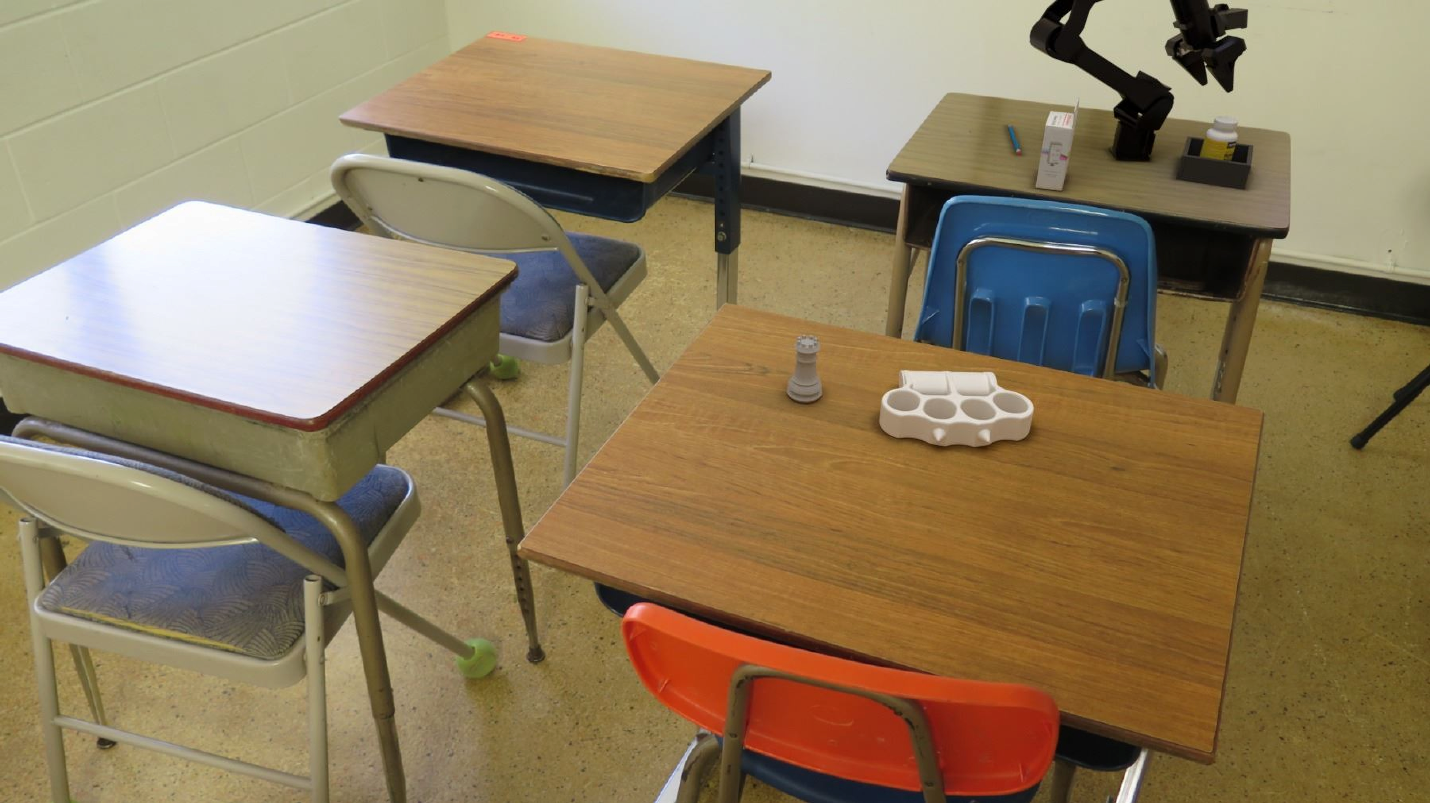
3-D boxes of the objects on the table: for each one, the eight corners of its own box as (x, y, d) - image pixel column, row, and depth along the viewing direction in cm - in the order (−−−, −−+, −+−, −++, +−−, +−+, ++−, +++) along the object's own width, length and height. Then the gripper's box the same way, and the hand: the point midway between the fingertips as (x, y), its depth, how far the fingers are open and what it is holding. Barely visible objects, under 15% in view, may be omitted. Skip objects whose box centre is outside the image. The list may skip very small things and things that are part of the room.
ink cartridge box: (1038, 171, 197) (1052, 93, 189) (1066, 175, 195) (1081, 96, 187) (1033, 188, 190) (1048, 107, 182) (1062, 192, 189) (1077, 111, 181)
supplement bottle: (1222, 178, 193) (1237, 126, 188) (1192, 171, 196) (1206, 120, 191) (1231, 170, 197) (1246, 118, 191) (1201, 163, 199) (1215, 112, 194)
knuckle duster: (1013, 387, 135) (1039, 455, 122) (872, 384, 135) (884, 452, 123) (1018, 365, 133) (1044, 432, 120) (874, 362, 133) (886, 428, 121)
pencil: (1016, 155, 204) (1017, 152, 204) (1006, 126, 218) (1007, 123, 218) (1021, 155, 204) (1021, 152, 204) (1010, 126, 218) (1011, 123, 218)
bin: (1176, 179, 194) (1182, 155, 192) (1181, 158, 203) (1187, 136, 200) (1244, 189, 190) (1251, 165, 188) (1246, 168, 199) (1253, 145, 196)
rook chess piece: (784, 385, 135) (786, 331, 130) (818, 384, 135) (822, 330, 131) (789, 405, 131) (792, 349, 127) (824, 403, 131) (828, 348, 127)
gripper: (1262, -10, 180) (1286, 72, 187) (1207, -16, 197) (1231, 60, 203) (1201, 23, 182) (1227, 104, 188) (1152, 15, 199) (1178, 89, 205)
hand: (1217, 88), depth 196 cm, fingers open, 9 cm apart
